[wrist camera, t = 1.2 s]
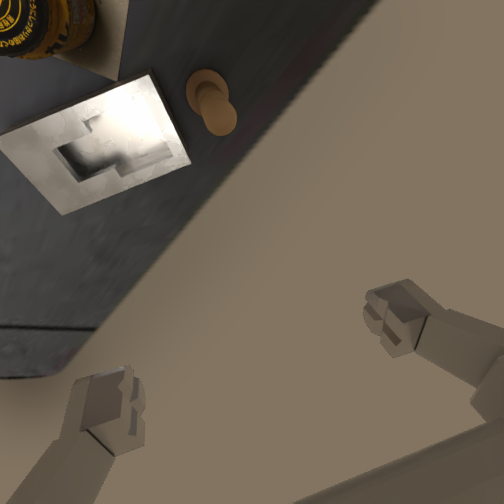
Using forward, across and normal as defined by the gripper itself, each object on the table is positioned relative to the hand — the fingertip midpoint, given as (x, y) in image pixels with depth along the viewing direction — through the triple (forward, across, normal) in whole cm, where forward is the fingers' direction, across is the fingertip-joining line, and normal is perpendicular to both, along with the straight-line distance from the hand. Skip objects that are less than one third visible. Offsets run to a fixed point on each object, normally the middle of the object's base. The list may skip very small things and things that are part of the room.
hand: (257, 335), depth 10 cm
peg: (+26, -3, -4) cm, 27 cm away
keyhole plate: (+27, +8, -2) cm, 28 cm away
